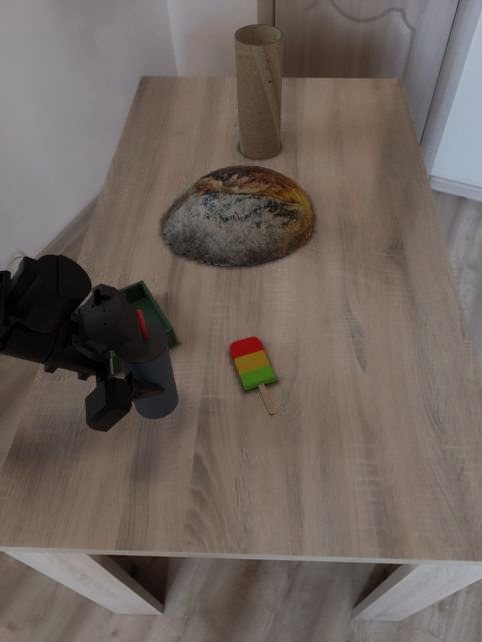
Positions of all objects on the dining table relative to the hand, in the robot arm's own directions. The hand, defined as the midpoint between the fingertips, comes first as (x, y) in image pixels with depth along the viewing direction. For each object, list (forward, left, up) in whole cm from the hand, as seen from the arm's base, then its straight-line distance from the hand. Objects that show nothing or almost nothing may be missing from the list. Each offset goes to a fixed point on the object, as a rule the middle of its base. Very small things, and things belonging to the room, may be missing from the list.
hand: (160, 370), depth 65 cm
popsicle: (+15, -1, -14) cm, 20 cm away
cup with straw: (-2, 0, -7) cm, 7 cm away
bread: (+32, +35, -14) cm, 49 cm away
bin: (0, +19, -13) cm, 23 cm away
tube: (+50, +56, -14) cm, 76 cm away
